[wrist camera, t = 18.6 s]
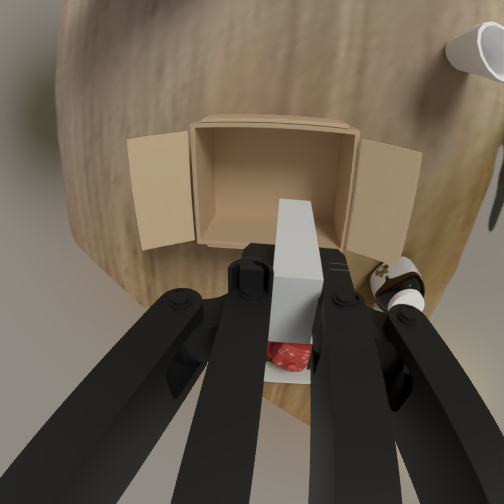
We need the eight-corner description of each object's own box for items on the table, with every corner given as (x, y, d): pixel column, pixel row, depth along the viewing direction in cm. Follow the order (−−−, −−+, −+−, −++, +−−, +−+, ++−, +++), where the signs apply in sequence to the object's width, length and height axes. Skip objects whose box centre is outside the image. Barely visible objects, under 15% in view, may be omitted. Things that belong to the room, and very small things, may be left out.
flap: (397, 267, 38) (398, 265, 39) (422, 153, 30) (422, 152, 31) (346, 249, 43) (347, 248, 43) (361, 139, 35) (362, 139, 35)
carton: (213, 218, 55) (197, 247, 46) (210, 113, 46) (190, 119, 36) (334, 225, 53) (343, 256, 44) (345, 118, 44) (360, 126, 34)
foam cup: (450, 83, 37) (491, 87, 26) (429, 35, 33) (467, 25, 22) (485, 73, 34) (528, 77, 23) (466, 27, 30) (507, 20, 19)
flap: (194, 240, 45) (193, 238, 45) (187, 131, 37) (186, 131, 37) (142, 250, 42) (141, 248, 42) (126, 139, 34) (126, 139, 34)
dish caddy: (260, 362, 74) (258, 380, 69) (262, 318, 66) (260, 337, 61) (324, 365, 73) (325, 384, 68) (336, 322, 65) (339, 342, 60)
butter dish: (262, 350, 72) (258, 377, 65) (279, 319, 66) (277, 347, 59) (304, 362, 73) (304, 388, 66) (325, 333, 67) (327, 360, 60)
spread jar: (404, 246, 54) (425, 280, 44) (422, 284, 58) (441, 319, 48) (354, 276, 58) (364, 314, 48) (376, 310, 62) (387, 348, 52)
